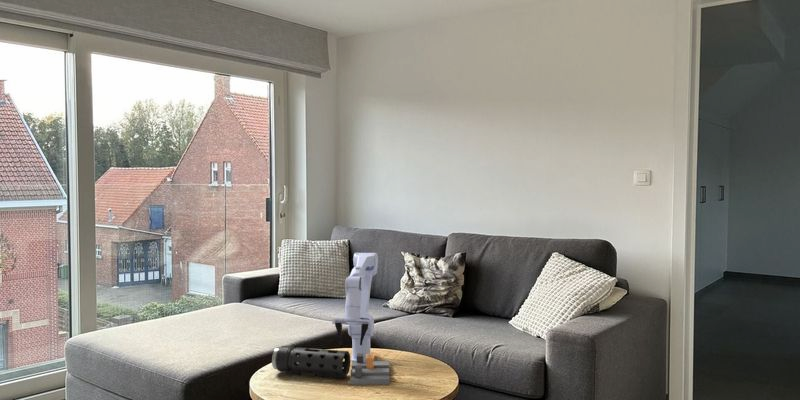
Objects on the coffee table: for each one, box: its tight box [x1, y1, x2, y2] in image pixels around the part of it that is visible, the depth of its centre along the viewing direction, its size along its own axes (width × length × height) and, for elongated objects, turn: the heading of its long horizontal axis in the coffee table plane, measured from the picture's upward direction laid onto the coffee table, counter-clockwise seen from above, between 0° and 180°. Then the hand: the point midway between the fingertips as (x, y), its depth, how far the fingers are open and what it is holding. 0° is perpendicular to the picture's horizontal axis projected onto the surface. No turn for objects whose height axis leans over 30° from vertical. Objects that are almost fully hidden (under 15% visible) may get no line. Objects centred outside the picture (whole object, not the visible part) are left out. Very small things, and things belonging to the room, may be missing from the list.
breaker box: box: [349, 354, 390, 386], centre depth 225 cm, size 20×14×6 cm
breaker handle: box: [366, 353, 375, 369], centre depth 225 cm, size 4×3×5 cm
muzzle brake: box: [271, 345, 352, 379], centre depth 225 cm, size 10×28×10 cm, turn 75°
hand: (350, 344), depth 224 cm, fingers open, 7 cm apart
